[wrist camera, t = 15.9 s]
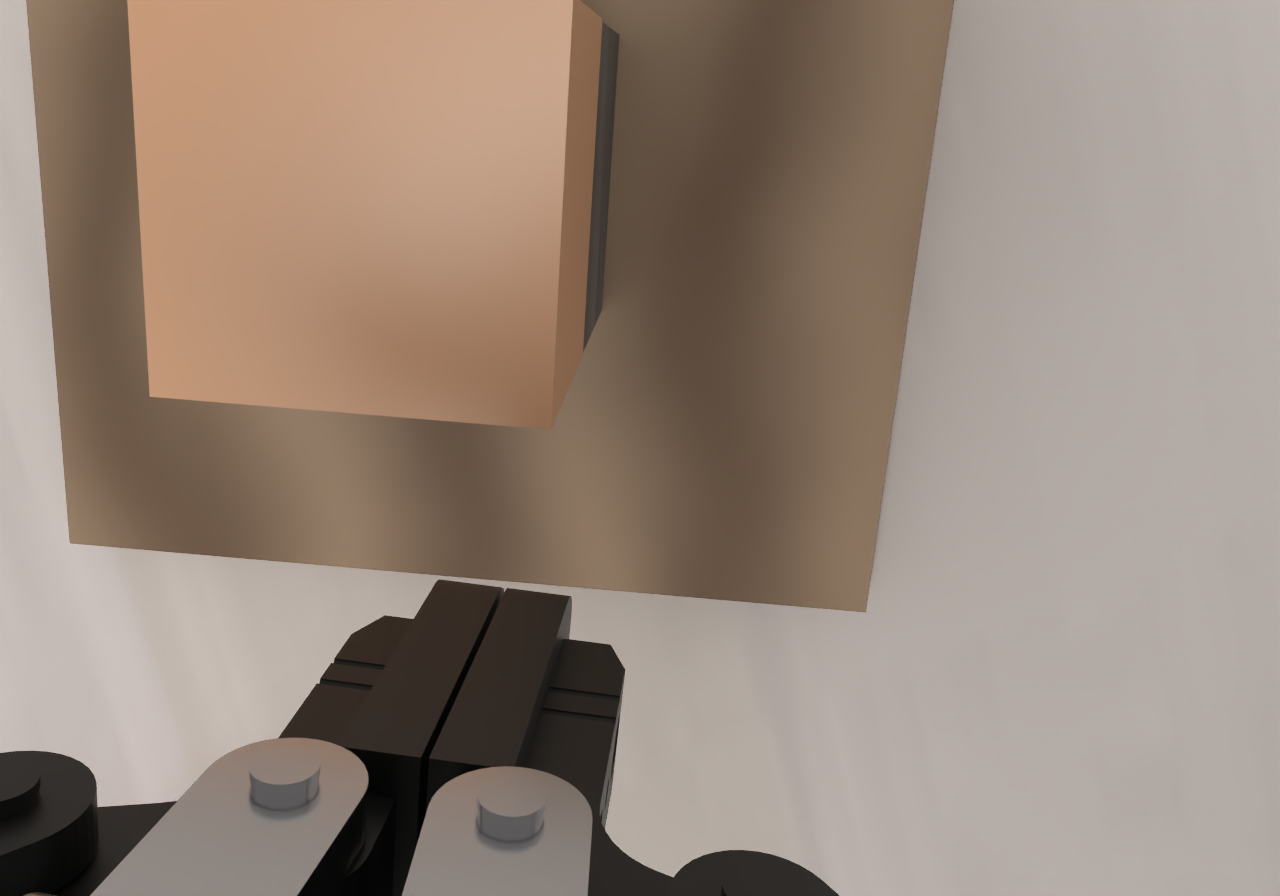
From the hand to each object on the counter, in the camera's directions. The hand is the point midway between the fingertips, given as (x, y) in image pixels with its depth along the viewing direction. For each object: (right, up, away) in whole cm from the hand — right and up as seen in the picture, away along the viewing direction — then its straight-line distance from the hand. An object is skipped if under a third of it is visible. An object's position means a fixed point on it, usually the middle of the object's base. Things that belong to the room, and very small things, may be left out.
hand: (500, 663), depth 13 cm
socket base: (-2, +9, +14) cm, 17 cm away
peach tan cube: (-2, +7, +8) cm, 11 cm away
